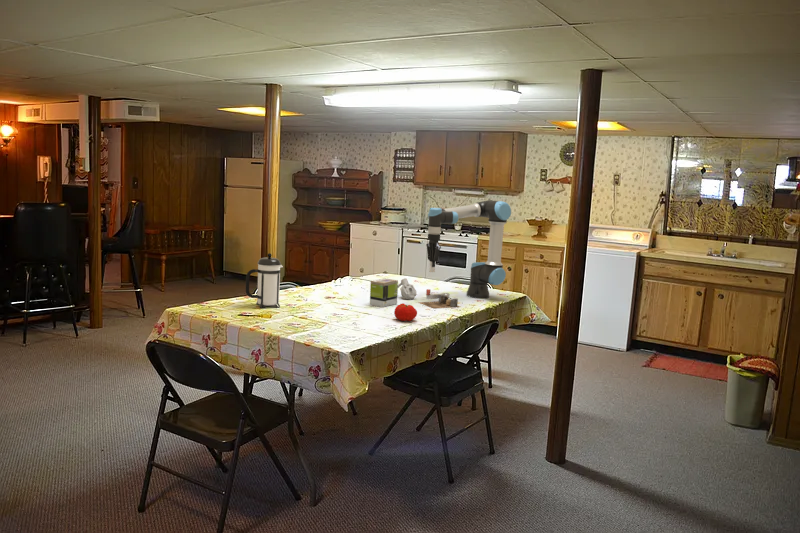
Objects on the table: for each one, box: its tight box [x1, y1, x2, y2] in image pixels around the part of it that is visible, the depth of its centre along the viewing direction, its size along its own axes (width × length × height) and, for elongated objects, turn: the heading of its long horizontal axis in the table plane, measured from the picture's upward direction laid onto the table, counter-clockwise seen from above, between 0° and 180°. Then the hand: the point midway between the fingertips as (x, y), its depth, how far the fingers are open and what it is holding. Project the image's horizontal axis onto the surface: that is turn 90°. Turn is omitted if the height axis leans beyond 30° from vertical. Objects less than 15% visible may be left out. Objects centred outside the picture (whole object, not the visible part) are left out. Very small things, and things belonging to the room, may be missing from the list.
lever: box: [425, 288, 451, 304], centre depth 381 cm, size 17×5×8 cm, turn 123°
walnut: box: [446, 298, 451, 306], centre depth 379 cm, size 4×4×4 cm
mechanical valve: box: [398, 277, 418, 300], centre depth 404 cm, size 10×18×15 cm
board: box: [417, 298, 461, 310], centre depth 381 cm, size 20×18×6 cm
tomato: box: [393, 303, 418, 322], centre depth 339 cm, size 13×12×8 cm
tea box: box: [369, 278, 399, 308], centre depth 377 cm, size 15×10×15 cm, turn 145°
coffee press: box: [245, 252, 284, 309], centre depth 351 cm, size 17×16×30 cm
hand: (432, 271), depth 384 cm, fingers closed
